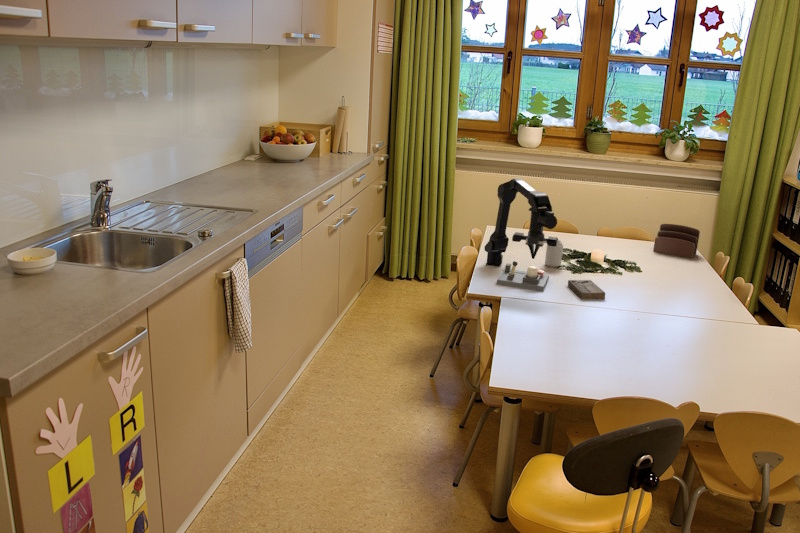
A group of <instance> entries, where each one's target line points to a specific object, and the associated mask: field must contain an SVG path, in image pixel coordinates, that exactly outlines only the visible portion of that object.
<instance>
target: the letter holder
mask: <svg viewBox="0 0 800 533" xmlns="http://www.w3.org/2000/svg"><path fill="white" fill-rule="evenodd" d="M659 226H660V227H659V230H658V232H657V235H656V237H655V239H654V244H653V248H652V249H653V250H652V252H656V253H662V254H666V255H672V256H677V257H681V258H682V257H683V258H689V259H694V257H695V256H696V255H697V251H698V250H697V249H698V246H699V245H698V244H699V239H700V233H701V232H700V230H699V229H697V228H695V227H691V226H687V225H681V224H675V223H674V224H673V223H660V225H659Z"/></svg>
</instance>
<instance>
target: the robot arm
mask: <svg viewBox="0 0 800 533" xmlns="http://www.w3.org/2000/svg"><path fill="white" fill-rule="evenodd" d="M518 193H520V194H521V196H523V197H524V198H526V199H527V203H528V205H529V206H530V207H529V208H528V211H529V212H530V220H529V229H528V232H527V235H524V234H525V233H523V232H518V231H517V232H516V231H515V233H513V235H512V239H511V240H512V242H516V243H517V242H518V243H520V242H521V241H525V245H526V246H528V249H529V252H530V255H531V256H530V257H531V259H534V260H535V258H536V256H537V253H538V251H539V249H540V247H541V248H542V247H543V246H544V245H545V244H546V245H547V244H548V246H554V247H556V246H557V244H558V240H559V238H558V237H557V236H548V238H547V237H545V233H544V228H545V229H548V230H553V229H554V228H555V227H557V224H558V219H557V217H556V216H555V213H554V212H553V206H552V204H551V201H550V198H549V196H548V194H547V193H544V192H542V191H537V190H536V189H535V188H533V187H532V186H530V185H529V184H528V183H527V182H525V180H524V179H523V178H512V179H510V180H509V181H506V182H504V183H501V184H499V185H498V187H497V198H498V201H499V204H498V210H497V214H496V215H497V217H496V223H495V228H494V231H493V232H492V233H491V235H490V237H489V240H488V242H487V243H486V244H485V245H484V251H485V252H486V253H487V256H486V258H487V259H486V263H485V265H486V266H492V267H501V266H502V264H503V259H504V255H503V253H506V251H507V248H508V246H509V237H508V236H507V234H506V231H507V227H508V226H507V225H508V221H509V215H510V210H511V204H512V203H513V202H514V201H515V199H516V197H517V194H518Z"/></svg>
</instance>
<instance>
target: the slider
mask: <svg viewBox="0 0 800 533" xmlns="http://www.w3.org/2000/svg"><path fill="white" fill-rule="evenodd" d="M504 269H505V271H507V272H510V270H511V269H512V263H506V265H505V267H504Z"/></svg>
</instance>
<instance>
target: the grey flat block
mask: <svg viewBox="0 0 800 533" xmlns="http://www.w3.org/2000/svg"><path fill="white" fill-rule="evenodd" d="M567 287H568V288H570V290H572V291H573V293H574V294H576V295H577V296H578V297H579V298H580V300H605V299H606V292H605V291H604V290H603V289H601V288H600V287H599V286H598V285H597V284H595V283H594V282H593V281H592V280H591V279H583V280H581V279H579V280H578V279H573V280H572V279H570V280H567Z"/></svg>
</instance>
